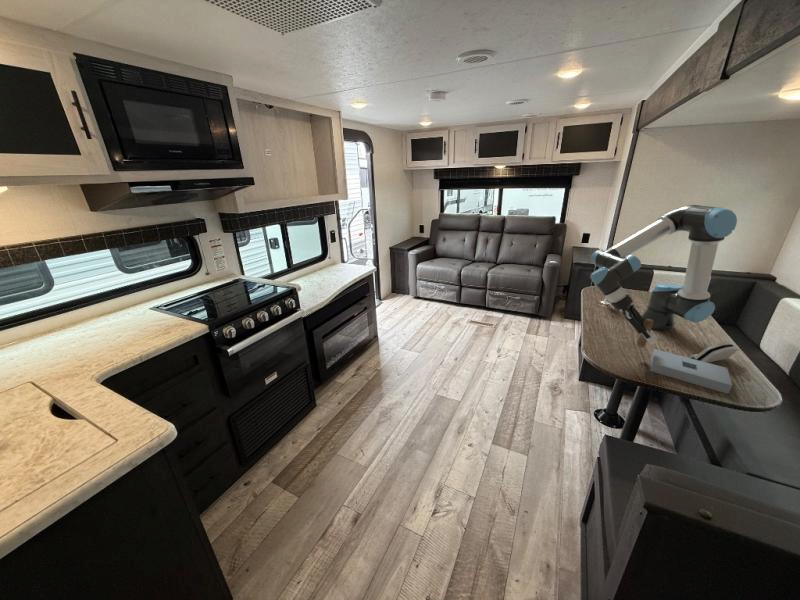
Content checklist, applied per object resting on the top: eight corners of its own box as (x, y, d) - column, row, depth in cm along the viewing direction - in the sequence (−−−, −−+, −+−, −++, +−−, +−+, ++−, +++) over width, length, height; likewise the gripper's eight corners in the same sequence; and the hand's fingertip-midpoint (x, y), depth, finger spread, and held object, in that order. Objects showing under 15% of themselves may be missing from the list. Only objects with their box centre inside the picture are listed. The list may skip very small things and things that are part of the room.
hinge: (715, 352, 146) (733, 338, 139) (725, 360, 142) (743, 346, 136) (689, 357, 142) (705, 343, 135) (698, 366, 139) (715, 352, 132)
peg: (636, 343, 143) (645, 318, 137) (645, 345, 141) (653, 320, 136) (636, 346, 140) (645, 320, 135) (644, 348, 139) (653, 322, 134)
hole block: (650, 371, 133) (653, 363, 131) (651, 356, 143) (653, 348, 141) (728, 393, 119) (732, 385, 118) (723, 375, 130) (727, 367, 128)
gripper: (612, 296, 148) (645, 337, 145) (608, 308, 137) (643, 352, 134) (629, 288, 143) (663, 330, 140) (625, 300, 132) (663, 346, 129)
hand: (653, 341), depth 137 cm, fingers closed on peg, 3 cm apart
